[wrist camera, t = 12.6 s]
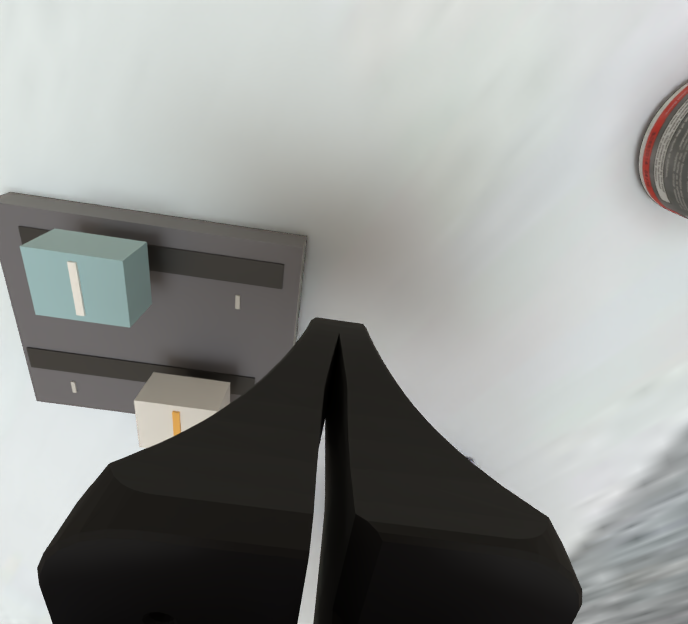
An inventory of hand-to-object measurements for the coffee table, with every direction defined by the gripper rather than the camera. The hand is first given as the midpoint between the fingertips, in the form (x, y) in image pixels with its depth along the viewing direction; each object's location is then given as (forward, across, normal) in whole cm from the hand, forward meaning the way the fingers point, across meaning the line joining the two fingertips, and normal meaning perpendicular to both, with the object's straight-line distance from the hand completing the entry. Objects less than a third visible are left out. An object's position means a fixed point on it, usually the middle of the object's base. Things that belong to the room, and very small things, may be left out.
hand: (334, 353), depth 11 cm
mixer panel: (+10, +8, +6) cm, 14 cm away
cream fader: (+8, +6, +8) cm, 13 cm away
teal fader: (+8, +10, +2) cm, 13 cm away
